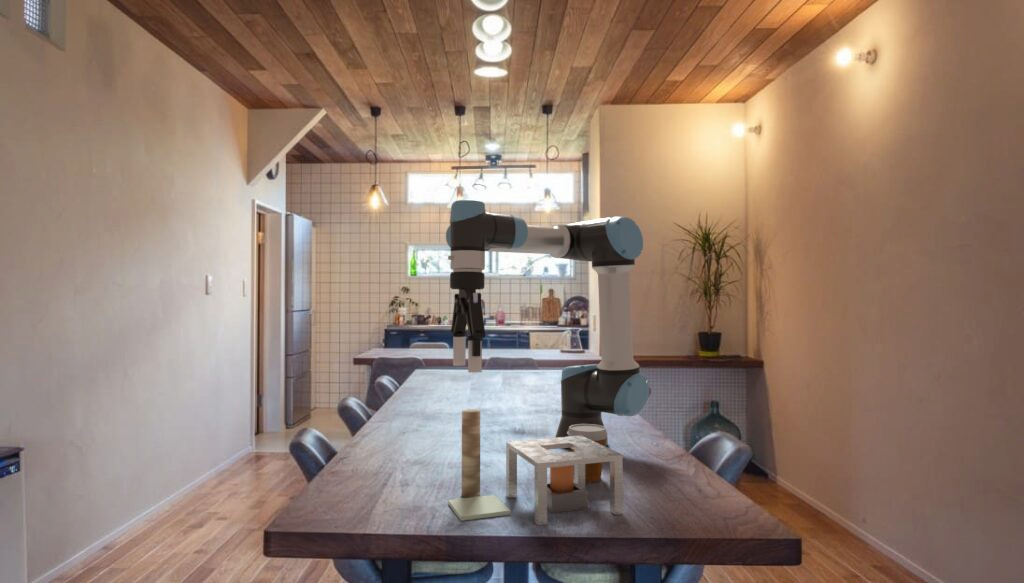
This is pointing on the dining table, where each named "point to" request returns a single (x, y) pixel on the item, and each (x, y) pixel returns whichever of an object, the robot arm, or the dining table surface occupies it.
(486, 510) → the pad
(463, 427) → the rod
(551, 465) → the stand
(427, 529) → the dining table surface
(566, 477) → the button
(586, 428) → the disposable coffee cup
